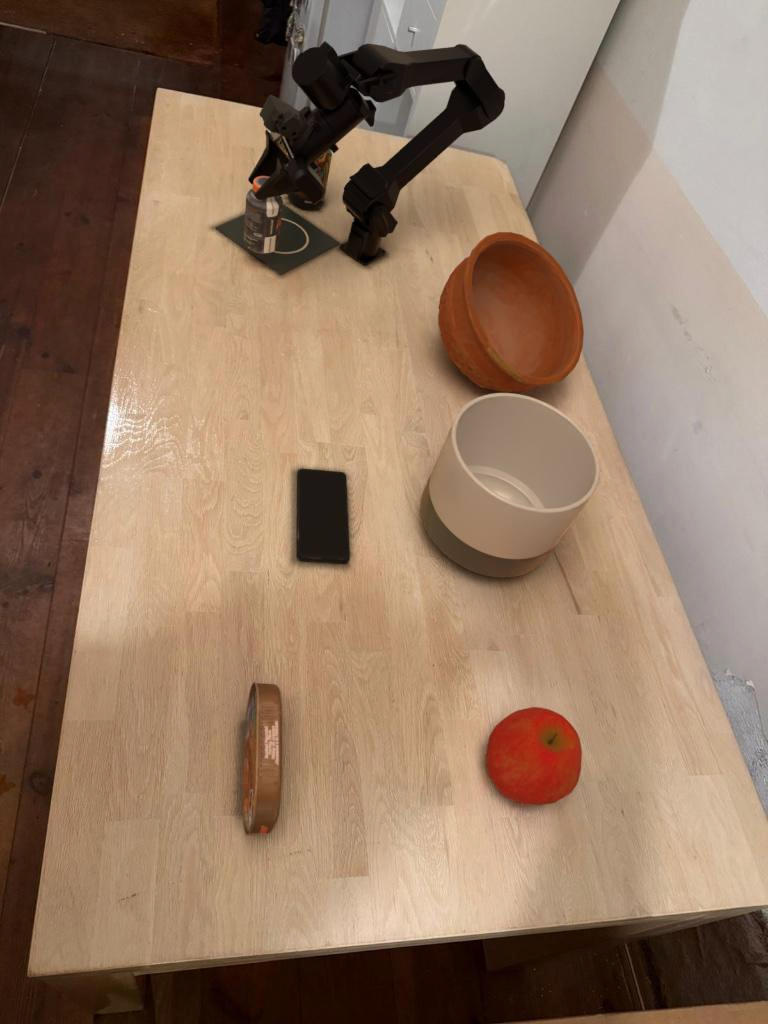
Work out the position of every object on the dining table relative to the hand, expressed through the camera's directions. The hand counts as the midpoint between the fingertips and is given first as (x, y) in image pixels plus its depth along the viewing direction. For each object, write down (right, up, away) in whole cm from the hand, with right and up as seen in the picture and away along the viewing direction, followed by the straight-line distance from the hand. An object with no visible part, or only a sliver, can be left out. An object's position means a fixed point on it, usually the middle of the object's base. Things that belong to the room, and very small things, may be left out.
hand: (253, 189), depth 118 cm
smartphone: (+12, -52, -18) cm, 56 cm away
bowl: (+35, -22, +9) cm, 42 cm away
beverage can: (+5, +9, +26) cm, 28 cm away
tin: (+7, -79, -39) cm, 88 cm away
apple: (+36, -81, -33) cm, 94 cm away
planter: (+34, -54, -13) cm, 65 cm away
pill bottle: (0, -6, +9) cm, 10 cm away
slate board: (+2, -1, +17) cm, 18 cm away
